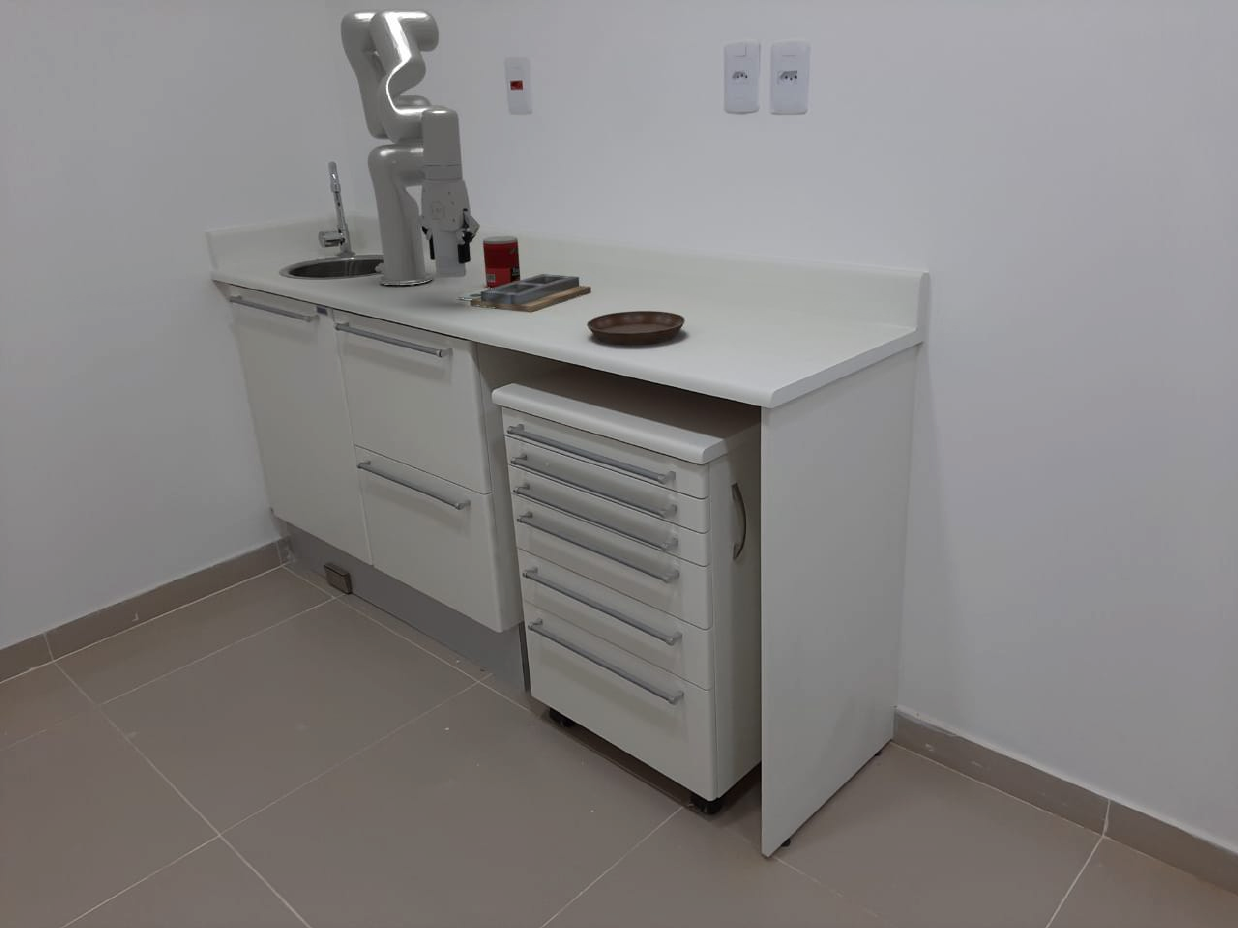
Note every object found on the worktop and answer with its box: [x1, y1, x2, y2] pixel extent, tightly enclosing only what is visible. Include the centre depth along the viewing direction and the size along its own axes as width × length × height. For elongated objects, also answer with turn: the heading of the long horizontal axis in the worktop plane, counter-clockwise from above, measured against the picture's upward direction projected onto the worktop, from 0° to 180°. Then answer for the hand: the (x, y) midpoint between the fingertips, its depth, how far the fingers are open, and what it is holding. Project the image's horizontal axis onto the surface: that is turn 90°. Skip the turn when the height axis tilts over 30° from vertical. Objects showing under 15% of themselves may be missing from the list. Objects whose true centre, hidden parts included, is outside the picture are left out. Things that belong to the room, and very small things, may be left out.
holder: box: [469, 273, 592, 313], centre depth 209 cm, size 16×22×3 cm
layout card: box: [455, 287, 489, 299], centre depth 214 cm, size 7×10×1 cm
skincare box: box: [431, 219, 467, 278], centre depth 202 cm, size 6×4×12 cm
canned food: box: [482, 235, 521, 289], centre depth 222 cm, size 8×8×11 cm
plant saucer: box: [586, 310, 686, 346], centre depth 175 cm, size 18×18×3 cm
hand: (450, 260), depth 204 cm, fingers closed on skincare box, 7 cm apart
